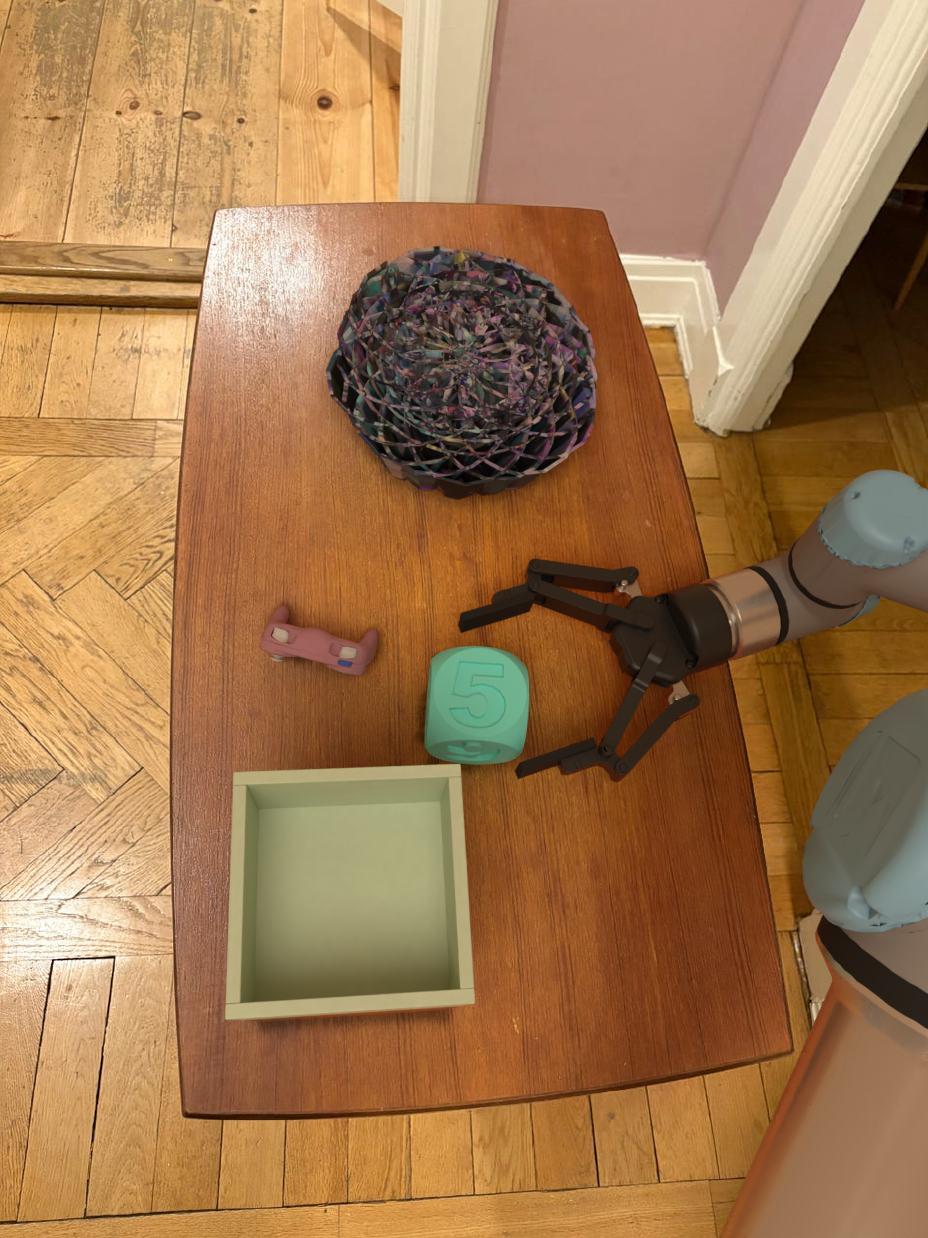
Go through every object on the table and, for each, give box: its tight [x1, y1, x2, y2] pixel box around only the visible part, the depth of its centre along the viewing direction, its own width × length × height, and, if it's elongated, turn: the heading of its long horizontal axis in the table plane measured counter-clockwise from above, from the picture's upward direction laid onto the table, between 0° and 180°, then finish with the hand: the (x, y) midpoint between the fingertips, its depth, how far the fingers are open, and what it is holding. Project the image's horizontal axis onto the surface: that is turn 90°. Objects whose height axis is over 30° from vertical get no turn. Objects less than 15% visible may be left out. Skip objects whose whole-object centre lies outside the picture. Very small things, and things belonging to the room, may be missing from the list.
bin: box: [224, 763, 476, 1021], centre depth 58 cm, size 14×14×8 cm
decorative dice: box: [423, 645, 530, 765], centre depth 80 cm, size 8×8×8 cm
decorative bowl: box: [325, 245, 599, 501], centre depth 93 cm, size 26×28×10 cm
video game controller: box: [258, 604, 379, 676], centre depth 82 cm, size 10×5×7 cm, turn 76°
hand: (488, 695), depth 79 cm, fingers open, 13 cm apart
